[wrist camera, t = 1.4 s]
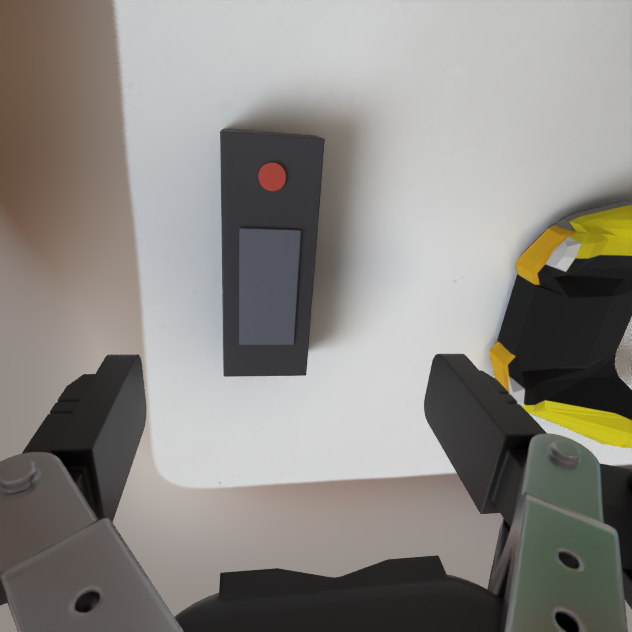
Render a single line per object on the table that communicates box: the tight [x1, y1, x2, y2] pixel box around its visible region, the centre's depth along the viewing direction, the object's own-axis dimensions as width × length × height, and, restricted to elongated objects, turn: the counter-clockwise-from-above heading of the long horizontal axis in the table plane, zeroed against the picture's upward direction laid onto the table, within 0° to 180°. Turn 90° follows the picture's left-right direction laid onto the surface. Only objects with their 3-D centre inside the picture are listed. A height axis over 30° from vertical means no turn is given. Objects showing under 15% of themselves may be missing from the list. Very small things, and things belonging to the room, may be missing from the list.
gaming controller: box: [490, 201, 632, 448], centre depth 25 cm, size 15×6×10 cm
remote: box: [220, 129, 325, 376], centre depth 22 cm, size 12×4×3 cm, turn 176°
